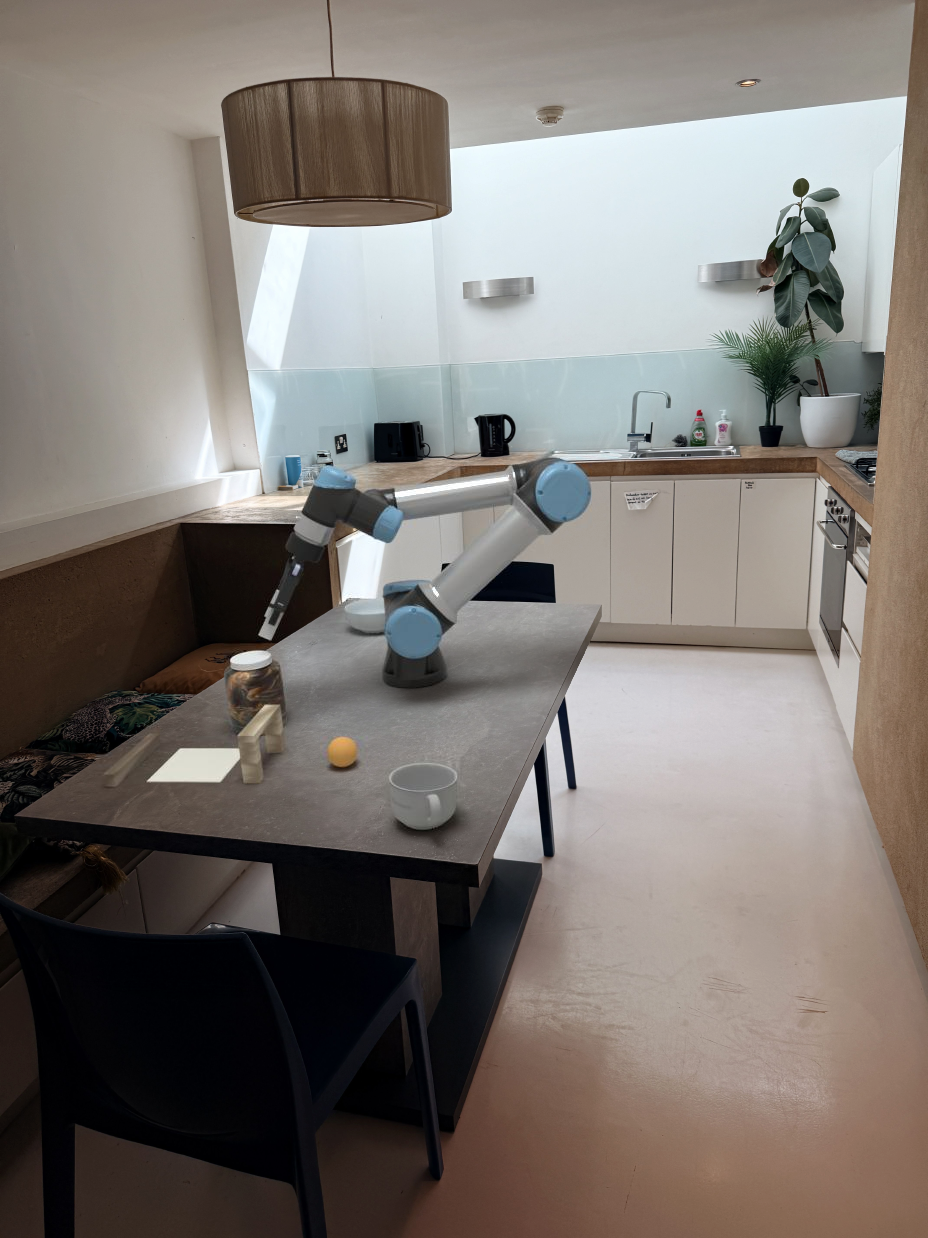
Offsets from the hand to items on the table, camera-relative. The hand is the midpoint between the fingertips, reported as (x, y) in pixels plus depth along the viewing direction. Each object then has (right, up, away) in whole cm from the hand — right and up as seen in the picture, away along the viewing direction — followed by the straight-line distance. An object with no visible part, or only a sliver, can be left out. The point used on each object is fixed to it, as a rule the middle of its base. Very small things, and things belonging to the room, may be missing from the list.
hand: (267, 627), depth 184 cm
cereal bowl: (+17, -1, +60) cm, 62 cm away
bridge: (+4, -25, -22) cm, 34 cm away
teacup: (+36, -31, -46) cm, 66 cm away
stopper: (-21, -26, -18) cm, 38 cm away
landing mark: (-8, -26, -20) cm, 34 cm away
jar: (-1, -21, -2) cm, 21 cm away
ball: (+19, -23, -24) cm, 38 cm away
